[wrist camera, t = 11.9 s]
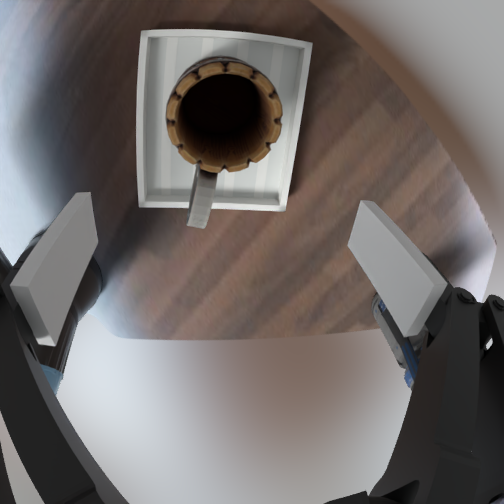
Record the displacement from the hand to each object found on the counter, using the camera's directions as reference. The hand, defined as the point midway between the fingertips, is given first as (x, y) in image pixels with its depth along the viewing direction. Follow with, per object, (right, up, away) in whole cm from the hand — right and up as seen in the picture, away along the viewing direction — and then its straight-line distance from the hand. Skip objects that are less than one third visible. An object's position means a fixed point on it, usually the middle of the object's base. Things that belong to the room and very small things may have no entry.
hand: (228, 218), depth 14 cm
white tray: (-3, +14, +20) cm, 25 cm away
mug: (-3, +14, +19) cm, 24 cm away
